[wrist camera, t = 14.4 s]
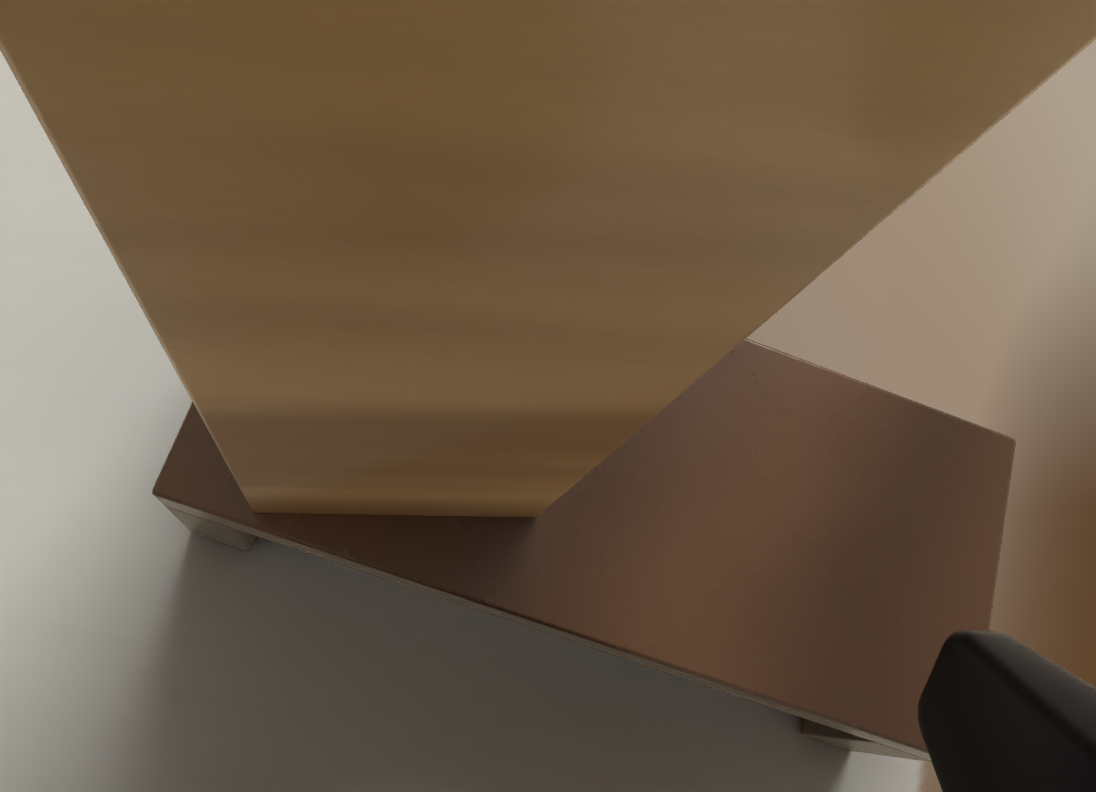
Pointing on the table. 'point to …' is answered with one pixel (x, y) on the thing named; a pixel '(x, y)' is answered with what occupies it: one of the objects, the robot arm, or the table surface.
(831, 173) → the beech stick
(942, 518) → the walnut shelf
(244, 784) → the table surface
